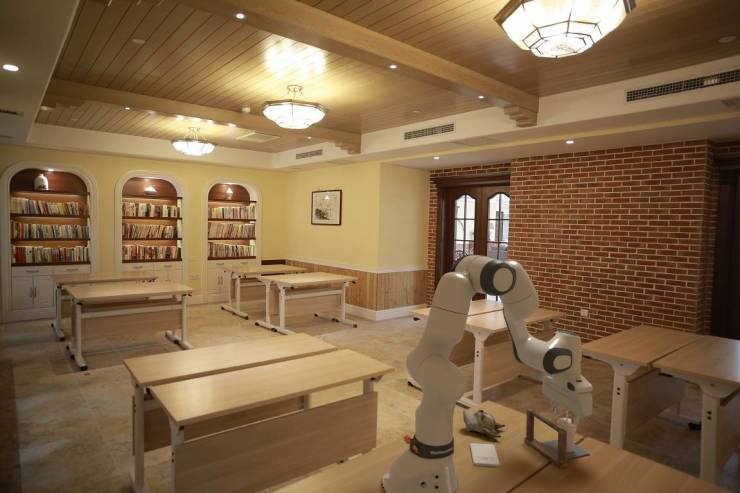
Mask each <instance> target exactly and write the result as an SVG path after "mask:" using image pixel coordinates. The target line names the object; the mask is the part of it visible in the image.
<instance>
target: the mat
mask: <svg viewBox="0 0 740 493" xmlns="http://www.w3.org/2000/svg"><path fill="white" fill-rule="evenodd" d="M540 443H541V444H543V445H544V446H545V447H547V448H548V449H549V450H551V451H552V452H554V453H555V454H556V455H558V439H553V440H548V441H541V442H540ZM590 455H591V453H590V452H588V451H587V450H585V449H584V448H582V447H581V446H579V445H577V444H576V443H575V442H574V444H573V450H572V452H566V461H567V460H571V459H577V458H581V457H585V456H586V457H587V456H590Z"/></svg>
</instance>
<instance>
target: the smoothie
mask: <svg viewBox="0 0 740 493" xmlns="http://www.w3.org/2000/svg"><path fill="white" fill-rule="evenodd" d="M565 410H566V411H565V412H566V415H565V417H560V418H557V420H556V424H557V427H559V428H561V429H564V430H565V431H567V449H566V452H572V450H573V444H574V443H575V438H576V437H575V436H576V432H577V428H578V425H574V424H572V423H571V418H569V409H565Z"/></svg>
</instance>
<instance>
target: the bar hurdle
mask: <svg viewBox="0 0 740 493" xmlns="http://www.w3.org/2000/svg"><path fill="white" fill-rule="evenodd" d="M535 418H536V419H537V420H539V421H540V422H542V423H544V424H545V425H547V426H548V427H550V428H551V429H552V430H554V431H556V432H557V433H558V434H557V440H558V455H556V454H555V453H554V452H552V451H551V450H549V449H548V448H547V447H545V446H544V445H543V444H541V442H540V441H539V440H537V439H536V438H535ZM525 424H526V425H525V426H526V428H525V429H526V430H525V431H526V433H525V434H526V435H525V437H524V442H525V443H526V444H528V445H529V446H530V447H531V448H533V449H534V450H536V451H537V452H538V453H539V454H541V455H542V456H543V457H544V458H546V459H547V460H548V461H550V462H552V464H554V465H555V466H557V467H558V468H559V469H562V468H567V467H569V462H567V460H566V449H567V431H565V430H564V429H561V428H559V427H558V425H556V424H554V423H553V422H552V421H551V420H548V419H546V418H545V417H544V416H542V415H541V414H539V413H537V412H536V411H535V410H534V409H532V408H527V409H526V422H525Z"/></svg>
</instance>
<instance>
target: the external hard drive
mask: <svg viewBox="0 0 740 493" xmlns="http://www.w3.org/2000/svg"><path fill="white" fill-rule="evenodd" d="M469 447H470V448H469V449H470V452H471V457H472V464H473V466H474V467H489V468H500V467H501V465H500V461H499V457H498V453H497V450H496V447H495V444H491V443H487V444H486V443H476V442H472V443H471V442H470V443H469Z"/></svg>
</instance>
